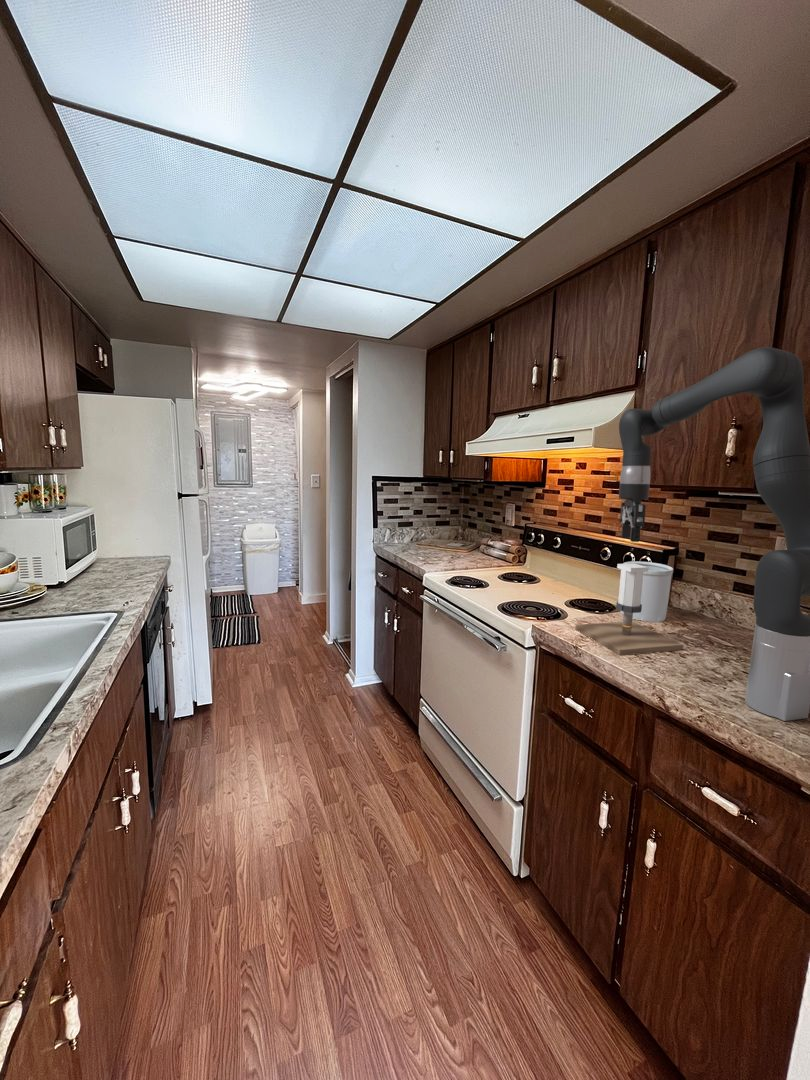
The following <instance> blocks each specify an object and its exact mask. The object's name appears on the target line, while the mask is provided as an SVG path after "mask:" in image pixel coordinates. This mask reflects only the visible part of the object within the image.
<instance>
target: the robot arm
mask: <svg viewBox="0 0 810 1080" xmlns="http://www.w3.org/2000/svg"><path fill="white" fill-rule="evenodd" d="M804 388H805V387H804V369H803V364H802V361H801V359H800V358H799V357H798V356H797V354H795V353H792V352H791V351H787V350H783V349H780V348H776V347H770V346H762V347H758V348H755V349H752V350H749V351H748V352H745V353H744V354H743V355H741V356H739V357H737V358H736V359H734V360H732V361H731V362H729V363H728V364H726V365H725V366H723V367H721V368H719V369H718V370H716V371H714V372H713V373H711V374H710V375H708V376H706V377H705V378H703V379H701V380H700V381H698V382H696V383H693V384H692V385H690V386H688V387H686V388H684V389H682V390H679V391H677V392H674V393H673V394H670V395H668V396H666V397H663V398H661V399H659V400H657V401H656V402H655V403H654V404H653V406H652V408H650V409H643V408H629V409H627V410H625V411H624V412H622V413H623V414H622V415H621V417H620V419H619V422H618V431H619V437H620V441H621V442H620V443H621V448H622V463H621V471H620V476H619V489H618V499H619V500H624V501H625V502H624V501H623V502H621V505H620V516H619V522H620V524H621V538H622V539H629V540H630V542H632V543H639V542H640V540H641V529H642V527H645V525H646V524H645V522H646V521H645V520H646V507H647V506H646V504H644V503H642V501H647V500H649V497H650V487H651V485H650V484H651V463H652V447H651V446H650V445H648V444H646V443H645V442H644V441H643V438H642V437H643V436H644V437H648V436H652V435H655V434H658V433H659V432H661V431H663V430H664V429H666V428H668V427H669V426H671V425H673V424H676V423H678V422H682V421H684V420H687V419H690V418H693V417H694V416H695V415H698V414H699V413H700V412H702V411H703V410H704V409H706V408H707V407H708V406H709V405H711V404H713V403H714V402H716V401H718V400H720V399H723V398H726V397H730V396H735V395H739V394H744V393H746V394H748V395H754V396H757V397H758V399H759V403H760V407H761V413H762V429H761V432H760V434H759V437H758V441H757V443H756V445H755V448H754V452H753V456H752V467H753V473H754V480H755V487H756V489H757V492H758V494H759V496H760V498H761V499H762V501H763V502H764V503H765V505H766V506H767V508H768V509H769V510H770V511H771V513H773V515H774V517H775V518H776V519H777V521H778V522H779V524H780V526H781V529H782V530H783V533H784V537H785V544H786V549H775V550H774V549H773V550H770V551H767V552H766V553H765V554H763V555H762V557H761V558H760V559H759V561H758V564H757V565H756V570H755V575H754V590H753V602H752V603H753V610H754V613H755V625H754V633H753V640H752V647H751V655H750V660H749V661H750V662H749V670H748V676H747V681H746V682H747V683H746V690H745V691H746V692H745V696H744V697H745V698H744V702H745V704H746V705H747V706H748V707H750V708H752V709H753V710H755V711H756V712H759V713H761V714H764V715H767V716H770V717H772V718H776V719H779V720H781V721H784V722H788V721H795V720H802V719H808V718H809V712H810V615H808V614H806V613H803V612H802V608H801V607H802V606H801V604H802V602H801V601H802V597H810V441H809V433H808V427H807V421H806V420H807V419H806V416H805V415H806V414H805V405H804V403H805V400H804V398H805V397H804V392H805V391H804Z"/></svg>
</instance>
